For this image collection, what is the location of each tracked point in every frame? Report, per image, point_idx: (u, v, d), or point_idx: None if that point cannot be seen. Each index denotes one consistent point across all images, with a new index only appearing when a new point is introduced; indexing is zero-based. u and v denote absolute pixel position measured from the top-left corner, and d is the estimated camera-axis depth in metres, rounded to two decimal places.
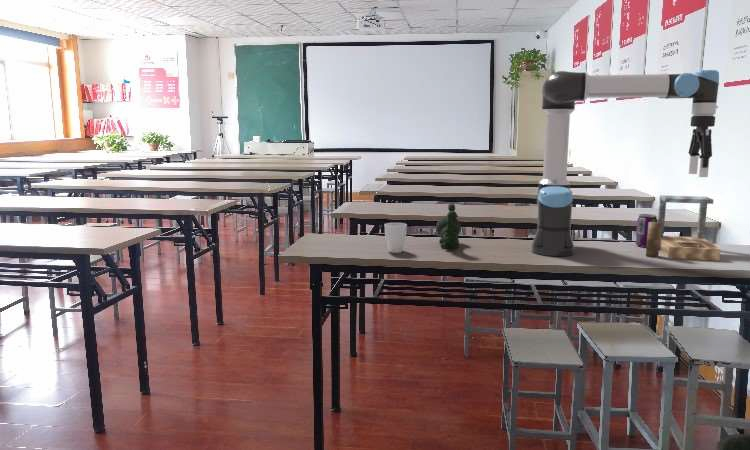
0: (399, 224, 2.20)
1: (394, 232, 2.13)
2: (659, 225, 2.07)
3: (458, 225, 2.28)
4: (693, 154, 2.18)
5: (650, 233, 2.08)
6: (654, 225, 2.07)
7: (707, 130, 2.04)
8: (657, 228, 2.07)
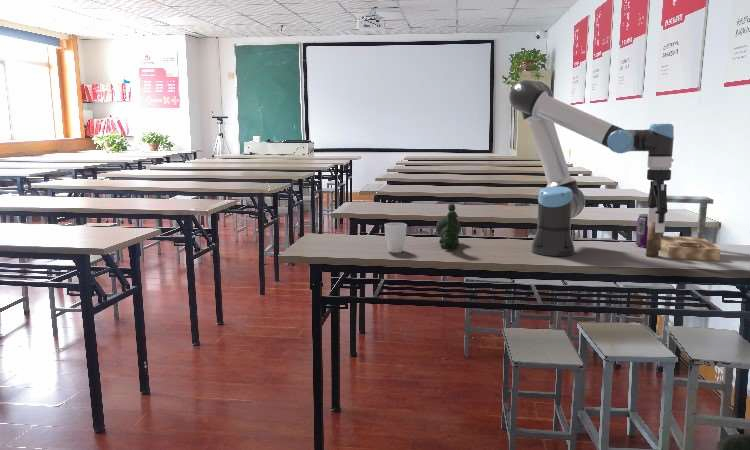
0: (399, 224, 2.20)
1: (394, 232, 2.13)
2: None
3: (458, 225, 2.28)
4: (651, 206, 2.14)
5: (650, 233, 2.08)
6: (654, 225, 2.07)
7: (662, 185, 1.99)
8: None
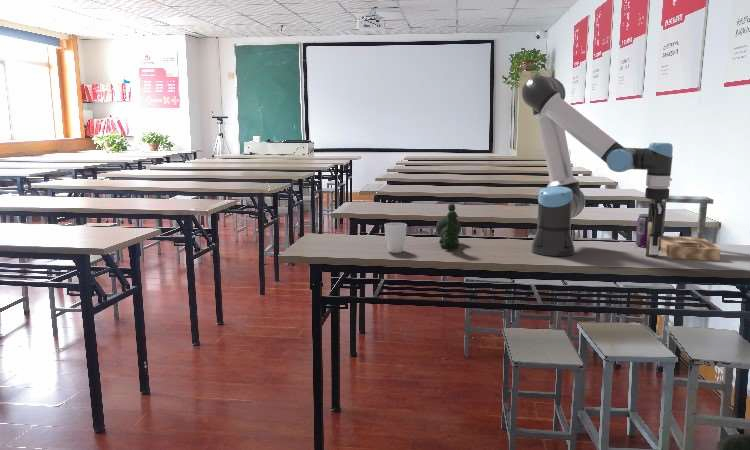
0: (399, 224, 2.20)
1: (394, 232, 2.13)
2: None
3: (458, 225, 2.28)
4: None
5: (650, 233, 2.08)
6: None
7: (660, 209, 2.01)
8: None
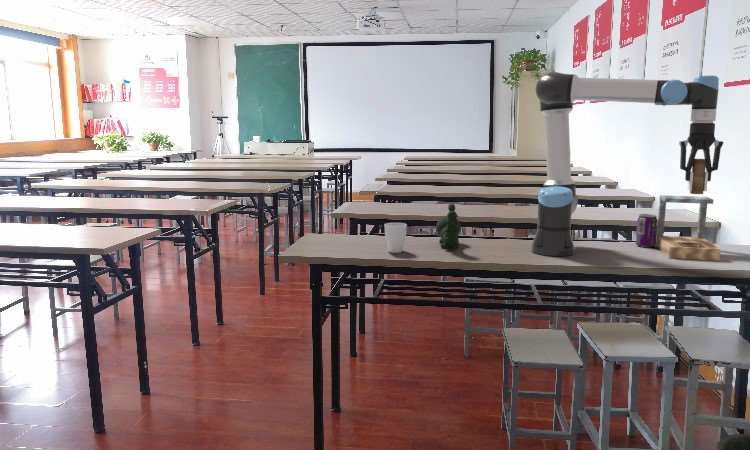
0: (399, 224, 2.20)
1: (394, 232, 2.13)
2: (695, 161, 2.03)
3: (458, 225, 2.28)
4: (707, 170, 2.04)
5: None
6: None
7: (680, 143, 2.05)
8: (693, 163, 2.04)
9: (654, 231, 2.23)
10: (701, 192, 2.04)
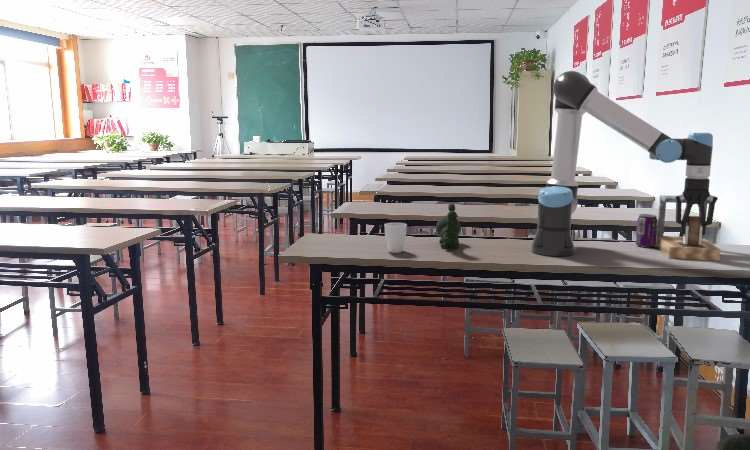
0: (399, 224, 2.20)
1: (394, 232, 2.13)
2: (690, 219, 2.07)
3: (458, 225, 2.28)
4: (701, 224, 2.08)
5: None
6: None
7: (675, 197, 2.08)
8: (688, 221, 2.08)
9: (654, 231, 2.23)
10: None
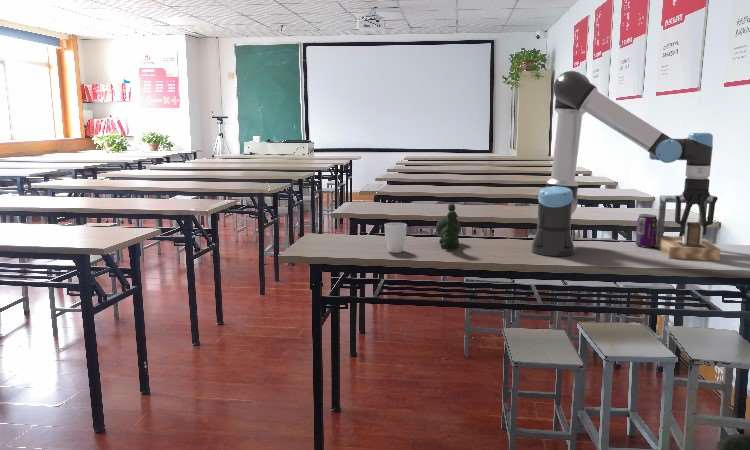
0: (399, 224, 2.20)
1: (394, 232, 2.13)
2: (690, 225, 2.07)
3: (458, 225, 2.28)
4: (702, 224, 2.08)
5: None
6: (687, 224, 2.09)
7: (675, 197, 2.08)
8: None
9: (654, 231, 2.23)
10: None
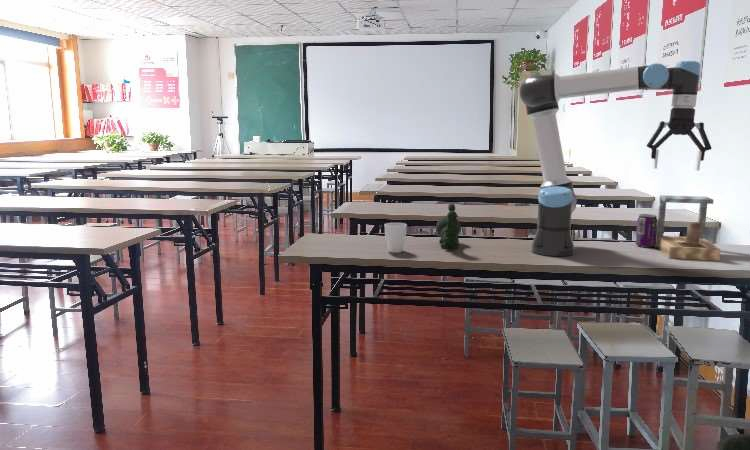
0: (399, 224, 2.20)
1: (394, 232, 2.13)
2: (690, 225, 2.07)
3: (458, 225, 2.28)
4: (700, 149, 2.05)
5: None
6: (687, 224, 2.09)
7: (660, 122, 2.07)
8: (687, 227, 2.08)
9: (654, 231, 2.23)
10: None
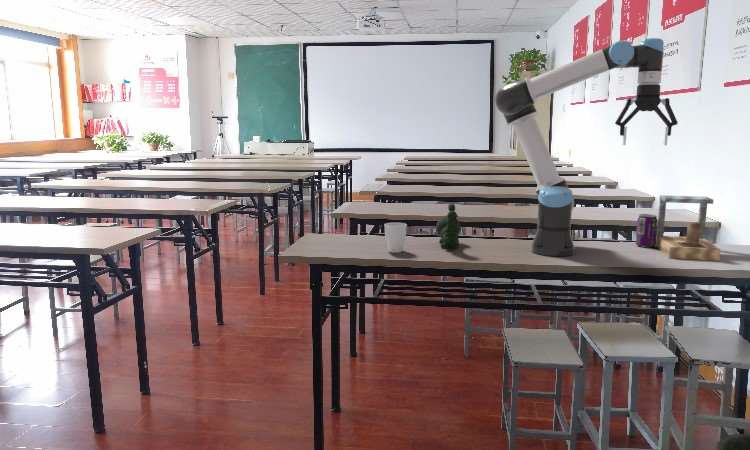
0: (399, 224, 2.20)
1: (394, 232, 2.13)
2: (690, 225, 2.07)
3: (458, 225, 2.28)
4: None
5: None
6: (687, 224, 2.09)
7: None
8: (688, 227, 2.08)
9: (654, 231, 2.23)
10: None
